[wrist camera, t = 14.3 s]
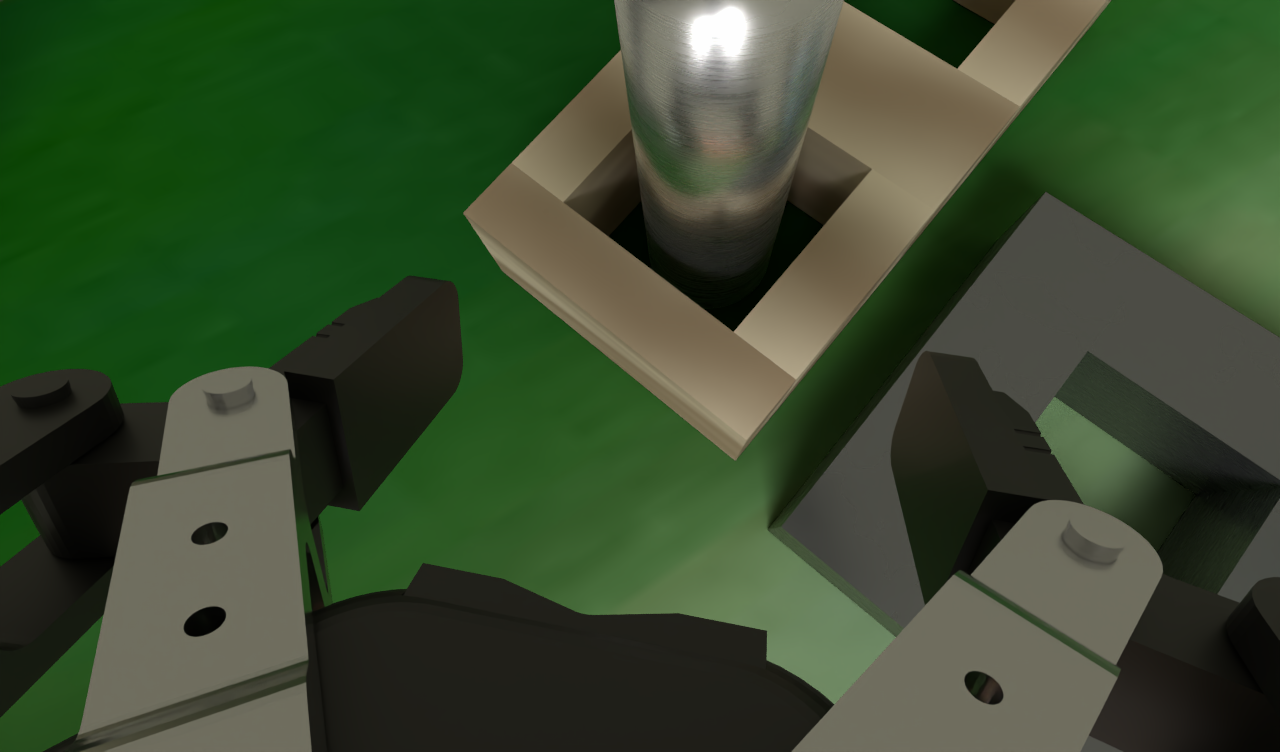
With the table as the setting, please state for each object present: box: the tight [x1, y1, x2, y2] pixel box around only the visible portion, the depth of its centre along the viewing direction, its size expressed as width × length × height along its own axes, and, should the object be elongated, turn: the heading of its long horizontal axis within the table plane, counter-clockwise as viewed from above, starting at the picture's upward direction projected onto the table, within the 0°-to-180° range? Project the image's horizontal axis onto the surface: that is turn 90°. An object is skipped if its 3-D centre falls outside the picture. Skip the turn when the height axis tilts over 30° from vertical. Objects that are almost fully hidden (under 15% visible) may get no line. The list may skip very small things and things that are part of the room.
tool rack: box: [464, 0, 1111, 461], centre depth 21 cm, size 20×10×4 cm, turn 140°
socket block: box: [768, 192, 1280, 752], centre depth 18 cm, size 12×12×3 cm
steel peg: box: [614, 0, 844, 308], centre depth 16 cm, size 4×4×12 cm
